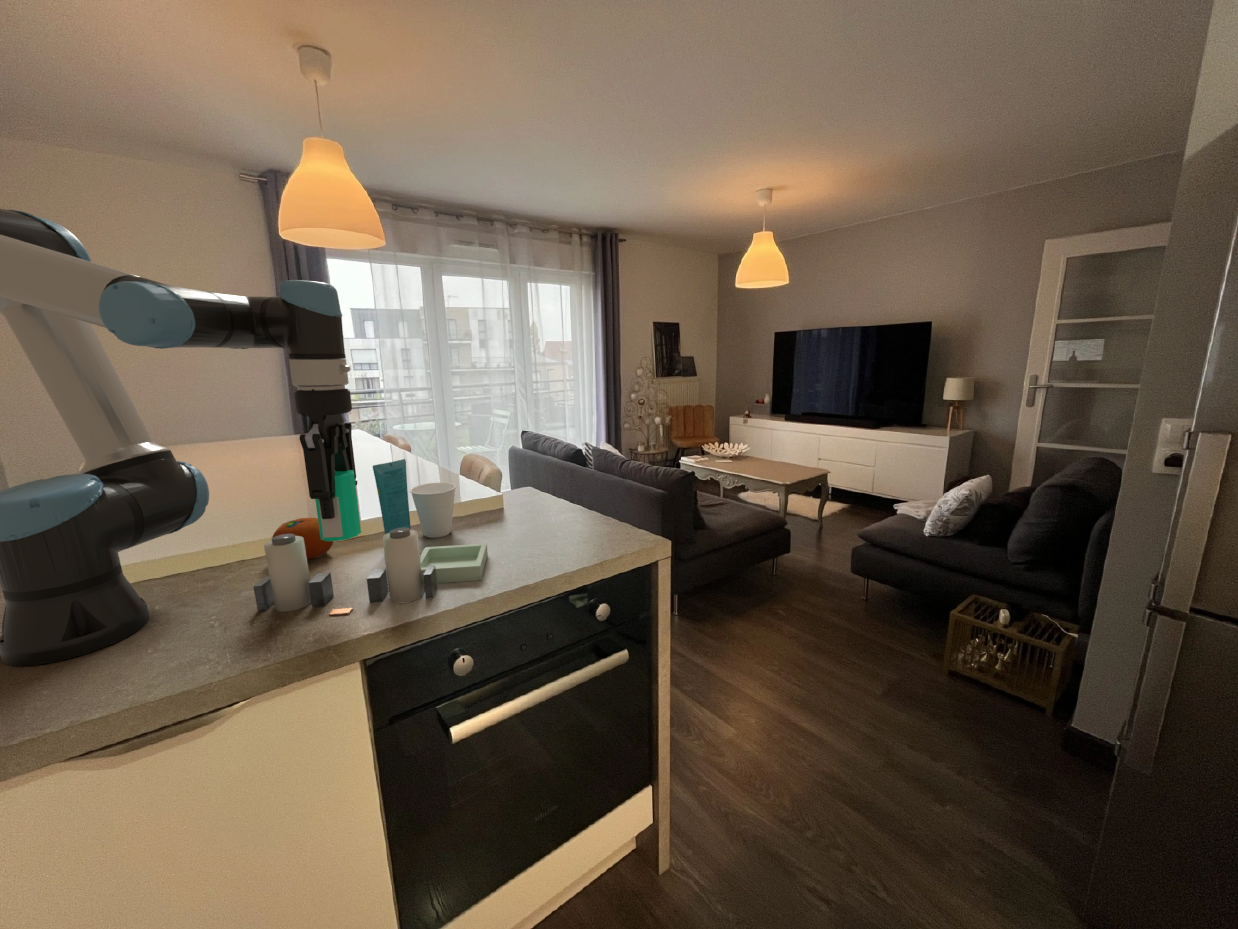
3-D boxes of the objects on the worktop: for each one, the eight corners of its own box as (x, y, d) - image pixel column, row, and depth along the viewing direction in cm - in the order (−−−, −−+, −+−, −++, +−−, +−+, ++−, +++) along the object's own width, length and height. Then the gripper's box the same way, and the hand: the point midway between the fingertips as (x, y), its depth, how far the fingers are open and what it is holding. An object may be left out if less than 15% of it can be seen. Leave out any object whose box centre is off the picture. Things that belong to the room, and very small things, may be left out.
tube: (405, 542, 110) (396, 457, 106) (421, 545, 108) (413, 459, 104) (376, 554, 103) (365, 464, 99) (393, 558, 101) (383, 466, 97)
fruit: (327, 544, 109) (322, 509, 108) (342, 557, 102) (337, 520, 100) (269, 558, 102) (263, 521, 100) (281, 573, 95) (274, 534, 93)
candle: (343, 542, 79) (334, 468, 76) (311, 539, 80) (300, 466, 77) (369, 529, 84) (361, 460, 82) (338, 527, 85) (329, 458, 83)
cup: (416, 529, 118) (411, 484, 116) (459, 524, 121) (456, 480, 119) (412, 543, 109) (407, 495, 107) (460, 538, 112) (456, 491, 110)
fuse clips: (245, 622, 78) (240, 596, 77) (269, 600, 84) (265, 576, 83) (428, 608, 81) (425, 583, 80) (437, 588, 88) (435, 565, 87)
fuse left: (268, 613, 80) (255, 544, 78) (285, 597, 86) (274, 532, 83) (304, 610, 81) (293, 542, 78) (318, 594, 86) (308, 530, 84)
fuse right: (385, 604, 83) (377, 537, 80) (395, 589, 88) (387, 526, 85) (419, 601, 84) (412, 535, 81) (426, 587, 89) (420, 524, 86)
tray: (412, 584, 90) (411, 570, 89) (426, 560, 100) (425, 547, 100) (481, 580, 91) (480, 565, 91) (487, 556, 102) (486, 543, 101)
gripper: (323, 392, 69) (343, 550, 74) (367, 383, 86) (381, 512, 91) (264, 392, 68) (288, 552, 73) (321, 384, 85) (337, 514, 90)
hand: (340, 530), depth 82 cm, fingers closed on candle, 5 cm apart
